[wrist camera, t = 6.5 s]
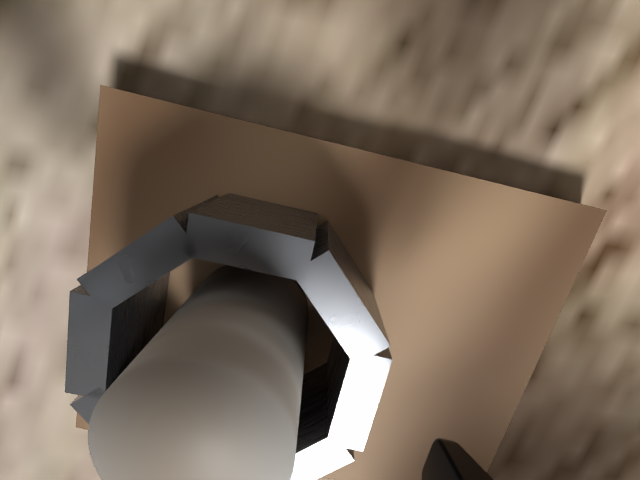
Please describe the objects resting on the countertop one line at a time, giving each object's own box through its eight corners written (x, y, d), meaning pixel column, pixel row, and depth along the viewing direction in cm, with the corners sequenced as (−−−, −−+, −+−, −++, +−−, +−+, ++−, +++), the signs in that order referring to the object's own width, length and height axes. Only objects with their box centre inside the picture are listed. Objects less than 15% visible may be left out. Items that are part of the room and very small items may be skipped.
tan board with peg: (581, 204, 11) (875, 273, 5) (460, 481, 14) (561, 731, 8) (121, 90, 10) (-146, 19, 4) (94, 406, 13) (-92, 616, 7)
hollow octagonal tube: (394, 230, 10) (422, 265, 7) (336, 429, 12) (340, 521, 9) (148, 174, 10) (74, 187, 7) (127, 387, 12) (61, 468, 9)
